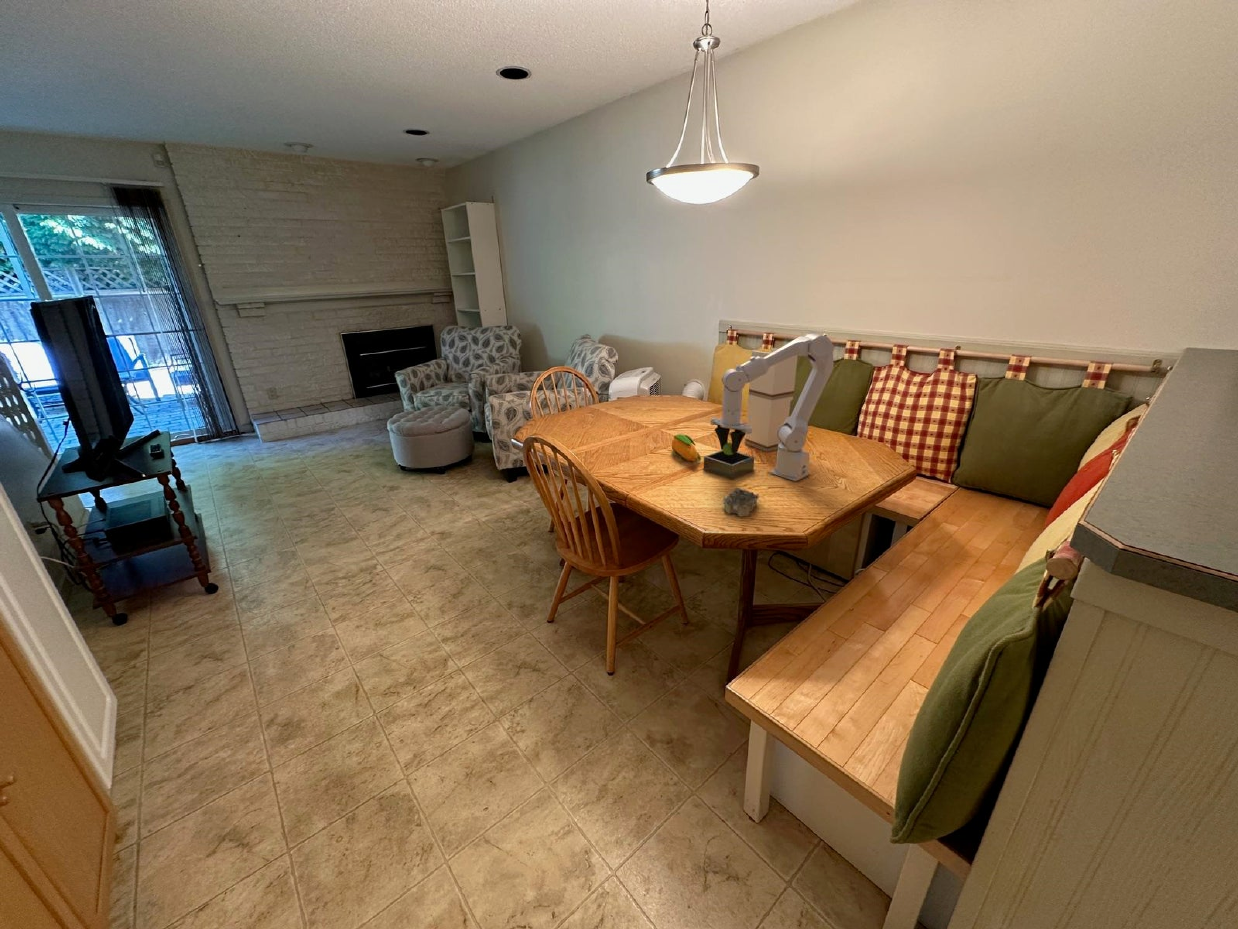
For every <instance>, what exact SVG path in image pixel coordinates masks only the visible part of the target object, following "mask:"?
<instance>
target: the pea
mask: <svg viewBox="0 0 1238 929" xmlns="http://www.w3.org/2000/svg"><path fill="white" fill-rule="evenodd" d="M723 452H724V453H725V454H726V455H732V454H734V453H732V442H728V443H726V444H725V445H724V446H723Z"/></svg>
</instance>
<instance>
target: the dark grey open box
mask: <svg viewBox="0 0 1238 929" xmlns="http://www.w3.org/2000/svg"><path fill="white" fill-rule="evenodd" d="M754 467H755V456H753V455H749V454H746V453H743V452H739V451H738V452H736V453H734V454H732V455H726V454H725V453H724V452H723V450H721V449H720V450H718V451H716V452H713V453H710V454H707V455H704V456H703V470H705V471H708V472H710V473H712V474H716V475H718V476H721V477H724V478H727V479H729V480H733V479H735V478H738V477H740V476H742V475H743V476H744V475H746V474H747V473H749V472H752V471H754Z"/></svg>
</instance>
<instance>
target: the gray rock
mask: <svg viewBox="0 0 1238 929" xmlns="http://www.w3.org/2000/svg"><path fill="white" fill-rule="evenodd" d="M759 497H760V495H759V494H754V492H753V491H749V490H745V489H742V488H739V487H738V486H737V487H735V488H734V490H733V491H731V492H730V493H728V495H727V496H725V497H723V499H722V503H723V505H724V507H723V510H724V511H725V512H726V513H727V514H736V515H738V517H747V516H748V517H749V514H750V512H752V511H753V509H754V507H757V506H758V499H760V498H759Z"/></svg>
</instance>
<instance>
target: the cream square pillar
mask: <svg viewBox="0 0 1238 929" xmlns="http://www.w3.org/2000/svg"><path fill="white" fill-rule="evenodd" d="M778 349H779V348H775V347H772V348H771V352H765V351H758V350H751V357H753V356H754V357H757V356H759V357H763V358H764V357H766V356H768V355H769V354H771V353H773V352H774V351H776V350H778ZM751 357H750V358H751ZM798 357H799V356H797V355H795V356H792V357H790V358H788V359H786V360H784V361H782V362H779V363H777V364H775V365H773V366H771V367H769V369H768V371H767V373H766V374H764V375H762V376H760V377H758V378H756V379H754V380H752V381H751V382H749V383H748V384H749V385H748V398H747V413H746V424H745V425H748V426H750V427H752V433H750V434H745V436H744V437H745V439H744V444H746V445H748V446H750V447H753V448H756V449H758V450H761V451H764V452H766V453H768V452H773V451H776V450H778V444H779V443H780V440H779V439H778V437H777V431H778V429H779V427H780V426H782V425H783V424H784V422H785V420H786V419H787V418H788V417H790V409H791V401H794V395H795V394H794V392H795V384H796V375H797V366H798V359H799V358H798Z"/></svg>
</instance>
